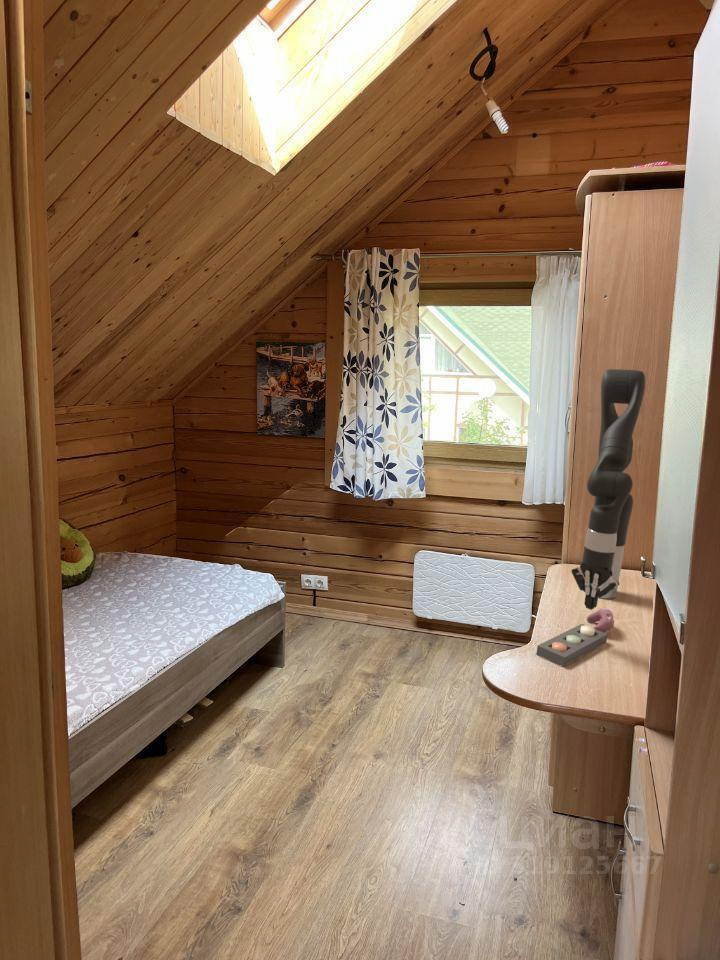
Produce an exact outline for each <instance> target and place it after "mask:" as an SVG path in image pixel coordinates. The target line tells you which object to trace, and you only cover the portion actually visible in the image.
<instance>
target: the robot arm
mask: <svg viewBox="0 0 720 960" xmlns="http://www.w3.org/2000/svg"><path fill="white" fill-rule="evenodd" d="M645 390H646V375H645V372H643V371H642V370H635V369H621V368H620V369H615V368H612V369H611V368H609V369H606V370H605V371H604V373H603V375H602V378H601V385H600V399H601V400H600V412H601V413H600V418H601V419H600V420H601V422H600V430H599V431H600V432H599V442H598V455H597V456H598V458H597V459H598V460H597V462H596V464H595V466H594V468H593V470H592V471H591V473H590V475H589V476H588V480H587V484H586V489H587V491H588V493H589V495H591V496H593V497H594V504H593V507H592V508H591V510H590V515H589V522H588V526H587V527H588V528H587V531H586V534H585V540H584V545H583V546H584V547H583V552H582V562H581V563H580V565H579V566H578V567H574V568H573V569H571V571H570V572H571V574H572V576H573V578H574V581H575V582H576V585H577V587H578V588H579V590H580V591H582V592H584V593H585V597H584V603H583V604H584V606H585V608H586V609H588V610H591V611H592V610H593V609H595V608H597V605H598V600H599V598H600V599H607V600H610V599H615V598H616V597H617V594H618V589H619V588H618V587H619V586H620V577H621V571H622V565H623V558H624V553H625V546H626V539H627V534H628V528H629V524H630V519H631V516H632V511H633V508H634V507H633V506H634V499H633V496H632V495H631V492H632V489H633V485H634V484H633V479H632V477H631V475H630V474H629V473H627V472H624V471H625V470H627V468H628V467H629V465H631V462H632V459H633V458H632V457H633V448H634V439H633V435H634V430H635V427H636V423H637V421H638V417H639V414H640V410H641V408H642V403H643V399H644V396H645ZM615 404H619V405H620V404H623V405H624V404H625V405H627V407H626V408H625V410H624V411H623V412H622V413H621V415H620V416H619V415H618V413H617V410H616V406H615Z"/></svg>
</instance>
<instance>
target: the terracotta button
mask: <svg viewBox="0 0 720 960" xmlns="http://www.w3.org/2000/svg"><path fill="white" fill-rule="evenodd" d="M552 648H553V649H556V650H558V651H560V652H564V651H566V650H567V646H566V645H565V644H563V643H560V642H554V643H552Z"/></svg>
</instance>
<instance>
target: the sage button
mask: <svg viewBox="0 0 720 960" xmlns="http://www.w3.org/2000/svg"><path fill="white" fill-rule="evenodd" d="M566 641H569V642H571V643H574V644H576V645H578V644H579V643H581V638H579V637H578V636H575V635H568V636H567V638H566Z"/></svg>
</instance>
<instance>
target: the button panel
mask: <svg viewBox="0 0 720 960" xmlns="http://www.w3.org/2000/svg"><path fill="white" fill-rule="evenodd" d="M581 626H587V625H585V623H580V624H578V625H576V626H574V627H572V628H570V629H568V630H566V631H564V632H563V633H560V634H558V635H556V636H554V637H552V638H549V639H548V640H546V641H543V642H542V643H540V644H538V645H537V647H536V654H535V655H536V656H539V657H541V658H543V659H546V660H548V661H549V662H552V663H554V664H556V665H558V666H560V665H561V667H565V666H567V665H568V664H571V663H573V662H574V661H576V660H578V659H579V658H581V657H583V656H585V655H586V654H587V655H588V653H590V652H592V651H594V650H596V649H597V648H599V647H601V646H603V645H605V644H607V640H608V633H606V632H605V633H604V632H601V631H599V630H596V629H595V633H594V636H593V637H591V638H590V637H588V636H585V635H583V634H580V629H581ZM568 635H575V636H578V637H579V638H581V643H579V644H578V645H576V644H574V643H571V642H569V641H566V638H567V636H568ZM554 642H560V643H563V644H565V645H566V646H567V650H566V651H564V652H560V651H558V650H556V649H553V648H552V643H554Z"/></svg>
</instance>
